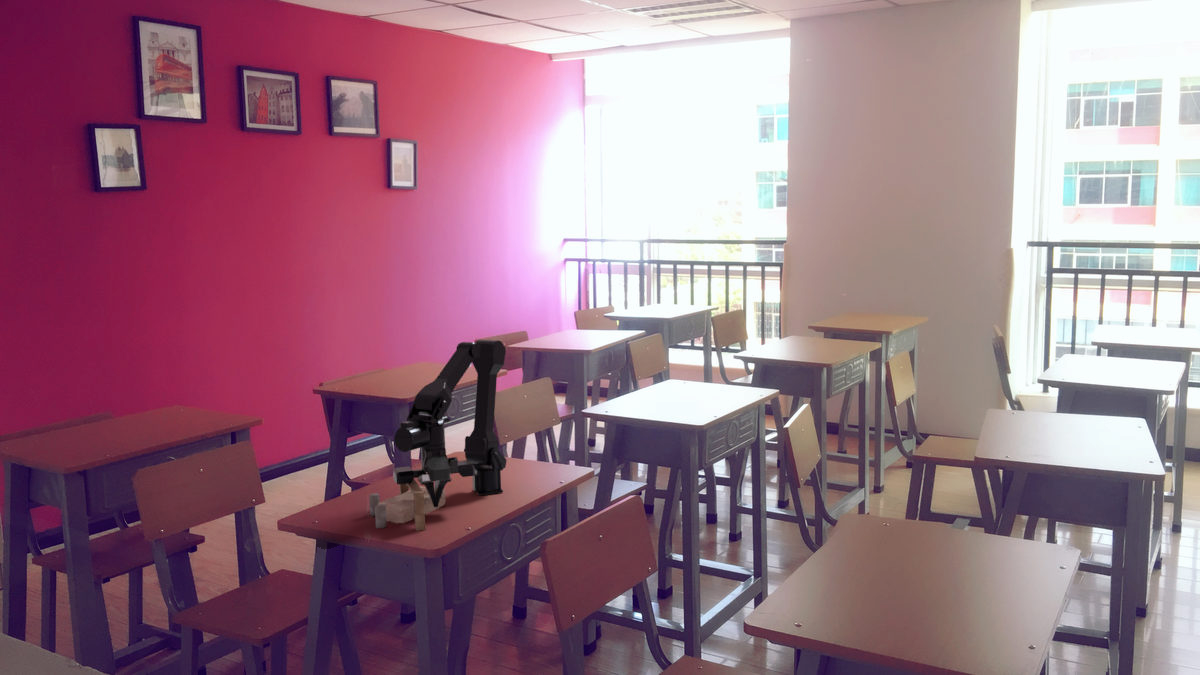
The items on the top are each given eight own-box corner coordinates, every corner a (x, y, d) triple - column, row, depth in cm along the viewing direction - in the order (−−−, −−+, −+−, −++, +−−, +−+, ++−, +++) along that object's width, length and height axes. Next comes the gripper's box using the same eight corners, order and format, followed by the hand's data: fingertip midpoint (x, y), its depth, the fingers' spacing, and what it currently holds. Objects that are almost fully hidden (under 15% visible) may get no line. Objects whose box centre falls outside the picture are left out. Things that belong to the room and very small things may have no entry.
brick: (402, 525, 218) (401, 505, 217) (375, 520, 222) (374, 501, 221) (447, 506, 232) (446, 488, 231) (421, 502, 236) (420, 484, 235)
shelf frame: (408, 503, 234) (406, 468, 233) (425, 529, 213) (423, 492, 212) (366, 508, 230) (364, 473, 229) (379, 536, 209) (378, 497, 208)
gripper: (399, 454, 212) (402, 521, 214) (479, 446, 219) (481, 510, 221) (391, 444, 223) (394, 508, 224) (468, 436, 229) (470, 498, 231)
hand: (435, 506), depth 225 cm, fingers closed
